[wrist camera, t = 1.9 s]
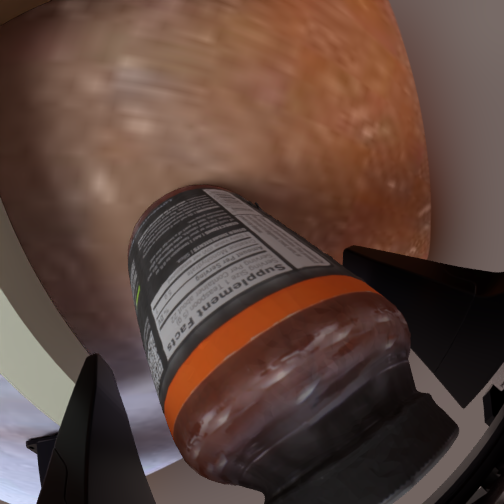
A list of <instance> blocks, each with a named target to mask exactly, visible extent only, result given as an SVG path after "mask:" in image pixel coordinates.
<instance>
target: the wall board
mask: <svg viewBox="0 0 504 504" xmlns="http://www.w3.org/2000/svg"><path fill="white" fill-rule="evenodd" d="M49 1H51V0H0V25H2V24H4V23H5V22H7V21H9V20H11V19H13V18H15V17H17V16H18V15H20V14H22V13H24V12H26V11H29V10H31V9H33V8H35V7H37V6H39V5H42V4H44V3H46V2H49ZM88 356H90V355H89V354H88V352H87V351H86V350H85V348H84V347H83V346H82V344H81V343H80V342H79V340H78V339H77V338H76V336H75V335H74V334H73V332H72V331H71V329H70V328H69V327H68V325H67V324H66V322H65V321H64V319H63V318H62V316H61V315H60V313H59V312H58V310H57V309H56V307H55V306H54V304H53V303H52V301H51V299H50V298H49V296H48V294H47V293H46V291H45V289H44V288H43V286H42V284H41V283H40V281H39V279H38V277H37V276H36V274H35V272H34V270H33V268H32V266H31V265H30V263H29V261H28V259H27V257H26V255H25V253H24V251H23V249H22V247H21V245H20V243H19V241H18V238H17V236H16V234H15V232H14V230H13V227H12V225H11V223H10V220H9V218H8V215H7V213H6V211H5V208H4V205H3V203H2V200H1V197H0V373H1V375H2V376H3V377H4V378H5V379H6V380H7V381H8V382H9V383H10V384H11V385H12V386H13V387H14V388H16V389H17V390H18V391H19V392H20V393H21V394H22V395H23V396H24V397H25V398H26V399H27V400H29V401H30V402H31V403H32V404H33V405H34V406H35V407H37V408H38V409H39V410H40V411H41V412H43V413H44V414H45V415H46V416H48V417H49V418H50V419H51V420H53V421H54V422H55V423H57V424H58V425H59V426H61V423H62V420H63V417H64V414H65V411H66V408H67V405H68V402H69V400H70V397H71V394H72V392H73V389H74V386H75V384H76V381H77V379H78V376H79V374H80V371H81V369H82V366H83V364H84V362H85V359H86V357H88Z"/></svg>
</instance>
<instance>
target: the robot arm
mask: <svg viewBox="0 0 504 504" xmlns="http://www.w3.org/2000/svg"><path fill="white" fill-rule="evenodd" d="M342 266H343V267H345V268H346V269H347V270H349V271H350V272H352V273H353V274H354V275H356V276H358V277H360V278H362V279H363V280H364V281H365V282H366V283H367V285H369V286H370V287H371V288H373V289H374V290H375V291H377V292H378V293H379V294H381V295H382V296H384V297H385V298H386V299H387V300H388V301H390V302H391V303H392V304H394V305H395V306H396V307H397V309H398V310H399V311H400V312H401V313H402V314H403V316H404V318H405V320H406V322H407V325H408V328H409V332H410V333H411V337H410V340H411V345H410V348H411V349H412V350H413V351H414V352H415V354H416V355H417V356H418V357H419V358H420V359H421V360H422V361H423V362H424V364H425V365H426V366H427V367H428V368H429V369H430V370H431V372H432V373H433V374H434V375H435V376H436V377H437V379H438V380H439V381H440V382H441V383H442V385H444V387H445V388H446V389H447V390H448V392H449V393H450V394H451V395H452V396H453V398H454V399H455V400H456V401H457V402H458V404H459V405H460V406H461V407H462V408H465V407H466V406H467V405H468V404H469V403H470V402H471V401H472V400H473V399H474V398H475V397H476V395H477V394H478V393H479V392H480V391H481V390H482V389H483V388H484V386H485V385H486V384H487V383H488V382H489V381H490V382H491V383H492V384H491V386H490V388H489V389H488V391H487V392H486V394H485V395H484V396H483V405H484V417H485V423H486V424H487V425H488V426H489V428H488V429H487V431H486V432H485V433H484V435H483V436H482V438H481V439H480V440H479V442H478V443H477V445H476V446H475V447H474V448H473V450H472V451H471V452H470V453H469V455H468V456H467V457H466V458H465V459H464V461H463V462H462V463H461V464H460V466H459V467H458V468H457V469H456V470H455V471H454V472H453V473H452V474H451V476H450V477H449V478H448V479H447V480H446V481H445V482H444V483H443V484H442V485H441V486H440V487H439V488H438V489H437V490H436V491H435V492H434V493H433V494H432V495H431V496H430V497H429V498H428V499H427V500H426V501H425V502H424V503H423V504H504V272H499V273H498V272H489V271H482V270H476V269H469V268H463V267H457V266H452V265H447V264H443V263H438V262H434V261H429V260H425V259H420V258H415V257H410V256H405V255H401V254H396V253H391V252H386V251H381V250H376V249H371V248H366V247H361V246H355V245H352V246H350V247H348V248H346V249H345V250H344V252H343V265H342ZM26 447H27V448H28V449H30V450H31V451H33V452H34V453H36V454H37V457H38V467H39V475H40V482H41V491H40V494H39V497H38V500H37V504H156V502H155V500H154V498H153V495H152V493H151V490H150V487H149V485H148V482H147V479H146V476H145V474H144V471H143V468H142V465H141V462H140V459H139V456H138V452H137V449H136V446H135V442H134V439H133V435H132V432H131V428H130V424H129V420H128V417H127V414H126V411H125V408H124V405H123V402H122V399H121V396H120V393H119V390H118V387H117V384H116V381H115V378H114V375H113V372H112V370H111V368H110V367H109V366H108V365H107V363H106V362H105V361H104V360H103V358H102V357H101V356H100V355H99V354H98V353H95V354H93V355H90V356H88V357H86V359H85V362H84V364H83V366H82V369H81V371H80V374H79V376H78V379H77V381H76V384H75V386H74V389H73V392H72V394H71V397H70V400H69V402H68V405H67V408H66V411H65V414H64V417H63V420H62V423H61V426H60V429H59V432H58V435H56V436H51V437H46V438H41V439H35V440H30V441H26ZM480 486H481V488H480V489H479V487H480ZM478 489H479V490H478Z"/></svg>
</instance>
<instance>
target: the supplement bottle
mask: <svg viewBox="0 0 504 504" xmlns="http://www.w3.org/2000/svg"><path fill="white" fill-rule="evenodd" d="M128 271H129V277H130V284H131V289H132V294H133V299H134V305H135V310H136V315H137V320H138V324H139V328H140V332H141V338H142V342H143V347H144V350H145V353H146V357H147V361H148V364H149V367H150V371H151V375H152V378H153V381H154V385H155V388H156V391H157V394H158V397H159V401H160V404H161V406H162V410H163V413H164V415H165V418H166V421H167V424H168V427H169V429H170V432H171V435H172V437H173V440H174V442H175V444H176V446H177V448H178V449H179V451H180V453H181V455H182V457H183V458H184V460H185V462H186V463H187V464H188V465H189V466H190V467H191V468H192V469H193V470H195V471H196V472H197V473H198V474H199V475H201V476H203V477H205V478H207V479H209V480H212V481H215V482H218V483H222V484H230V485H239V486H243V487H246V488H250V489H253V490H257V491H260V492H262V493H263V494H264V495H265V502H264V504H393V503H394V502H395V501H397V500H398V499H399V498H400V497H402V496H403V495H404V494H405V493H407V492H408V491H409V490H410V489H411V488H412V487H413V486H414V485H416V484H417V482H419V481H420V480H421V479H422V478H423V477H424V476H425V475H426V474H427V473H428V472H429V471H430V470H431V469H432V468H433V467H434V466H435V465H436V464H437V463H438V462H439V460H440V459H441V458H442V457H443V456H444V455H445V454H446V452H447V451H448V450H449V449H450V447H451V446H452V444H453V443H454V441H455V440H456V438H457V436H458V434H459V427H458V425H457V424H456V423H455V422H454V421H453V420H452V419H451V418H450V417H449V416H448V415H447V414H446V412H445V411H444V410H442V409H441V408H440V407H439V406H438V405H437V404H436V403H435V401H434V400H433V399H432V397H431V395H430V394H428V393H421V392H418V391H417V390H416V387H415V383H414V380H413V376H412V372H411V368H410V364H409V361H408V357H409V353H410V345H411V340H410V337H411V333H410V332H409V328H408V325H407V322H406V320H405V318H404V316H403V314H402V313H401V312H400V311H399V310H398V309H397V307H396V306H395V305H394V304H392V303H391V302H390V301H388V300H387V299H386V298H385V297H384V296H382V295H381V294H379V293H378V292H377V291H375V290H374V289H373V288H371V287H370V286H369V285H367V283H366V282H365V281H364V280H363V279H362V278H360V277H358V276H356V275H354V274H353V273H352V272H350V271H349V270H347V269H346V268H345V267H343V266H342V265H341V264H339V263H338V262H337V261H335V260H334V259H333V258H332V257H331V256H329V255H328V254H325V253H323V252H322V251H321V250H319V249H318V248H317V247H316V246H314V245H312V244H311V243H310V242H308V241H307V240H306V239H305V238H303V237H301V236H299V235H298V234H297V233H296V232H294V231H292V230H291V229H289V228H287V227H286V226H285V225H283V224H281V223H280V222H279V221H278V220H276V219H274V218H273V217H272V216H270V215H268V214H267V213H265V212H264V211H263V210H262V209H261V208H260V207H259V205H258V204H257V203H255V205H254V204H252V203H251V202H250V201H247V200H246V199H244V198H243V197H241V196H240V195H238V194H236V193H233V192H231V191H229V190H226V189H224V188H220V187H216V186H210V185H192V186H187V187H183V188H179V189H177V190H174V191H172V192H170V193H168V194H166V195H164V196H163V197H161V198H160V199H158V200H157V201H155V202H154V203H153V204H152V205H151V206H150V207H149V208H148V209H147V210H146V211H145V212H144V214H143V215H142V216H141V217H140V219H139V220H138V222H137V223H136V225H135V227H134V230H133V233H132V236H131V239H130V243H129V248H128Z"/></svg>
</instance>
